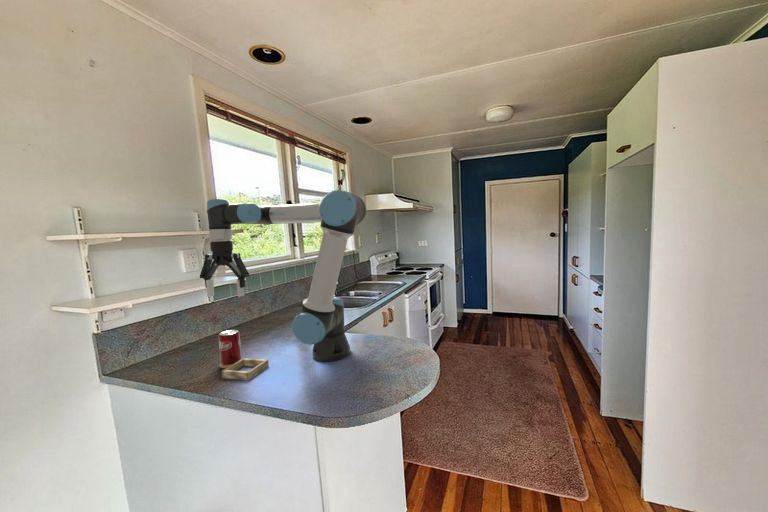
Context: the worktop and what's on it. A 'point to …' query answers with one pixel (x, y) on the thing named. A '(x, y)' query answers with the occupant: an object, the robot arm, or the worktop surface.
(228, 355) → the soda can
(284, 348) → the worktop surface
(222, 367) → the coaster
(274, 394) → the worktop surface
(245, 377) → the frame
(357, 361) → the worktop surface
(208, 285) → the robot arm
